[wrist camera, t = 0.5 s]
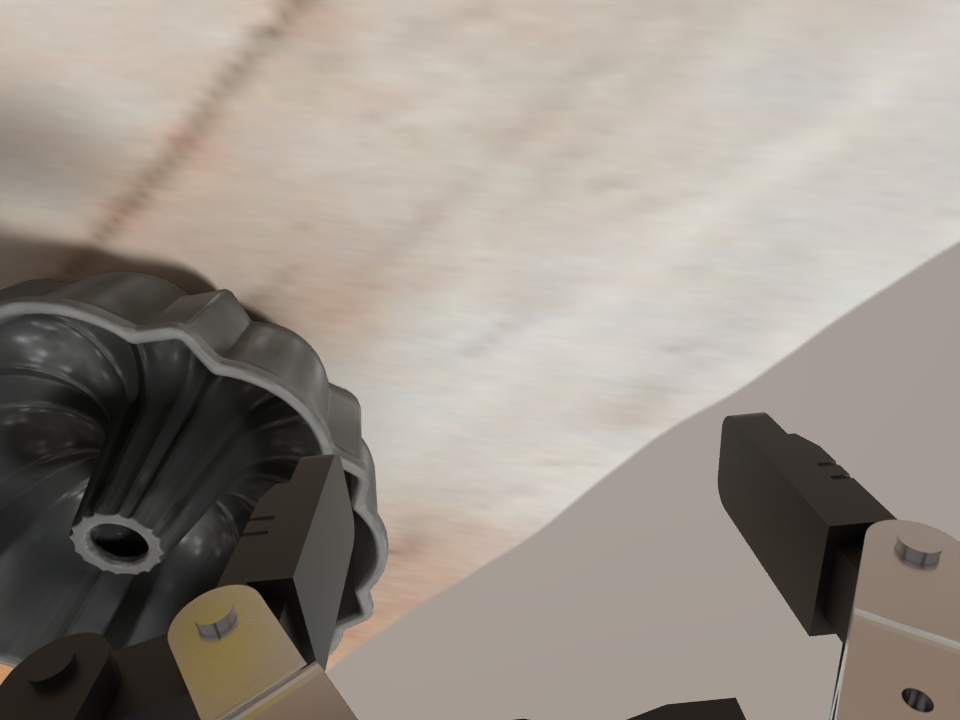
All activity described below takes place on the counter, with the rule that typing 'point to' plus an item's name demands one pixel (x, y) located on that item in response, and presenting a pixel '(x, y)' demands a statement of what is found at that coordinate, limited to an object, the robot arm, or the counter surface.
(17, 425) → the bundt pan
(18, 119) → the counter surface
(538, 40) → the counter surface
